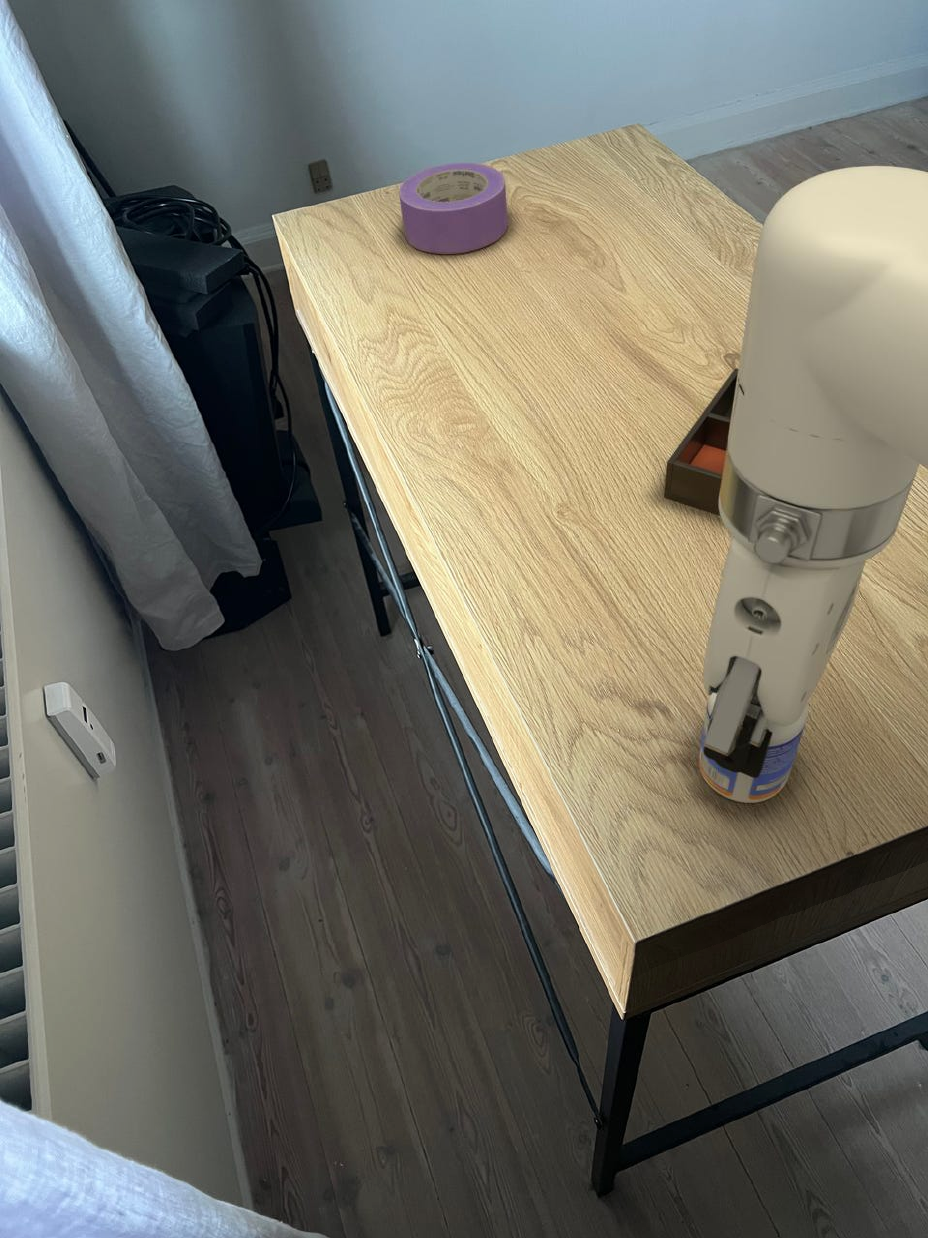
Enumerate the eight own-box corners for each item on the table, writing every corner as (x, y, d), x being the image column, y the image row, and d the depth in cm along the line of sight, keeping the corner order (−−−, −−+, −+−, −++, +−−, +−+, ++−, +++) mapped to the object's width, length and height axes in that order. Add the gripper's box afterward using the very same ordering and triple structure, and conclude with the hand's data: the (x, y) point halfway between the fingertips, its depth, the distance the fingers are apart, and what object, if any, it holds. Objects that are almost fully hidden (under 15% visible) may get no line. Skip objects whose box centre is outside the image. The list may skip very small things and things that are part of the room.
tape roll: (404, 211, 109) (398, 168, 106) (503, 199, 109) (500, 155, 105) (406, 261, 102) (399, 216, 98) (512, 248, 101) (509, 202, 98)
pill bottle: (789, 737, 58) (820, 638, 51) (787, 813, 55) (819, 718, 47) (700, 724, 59) (718, 625, 52) (692, 797, 56) (710, 702, 49)
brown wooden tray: (810, 424, 77) (818, 388, 75) (749, 524, 70) (755, 489, 68) (730, 403, 80) (735, 367, 78) (663, 497, 73) (666, 461, 71)
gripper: (833, 654, 34) (760, 875, 47) (957, 396, 43) (865, 645, 56) (644, 583, 37) (626, 810, 51) (796, 357, 46) (746, 602, 59)
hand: (753, 721), depth 53 cm, fingers closed on pill bottle, 5 cm apart
